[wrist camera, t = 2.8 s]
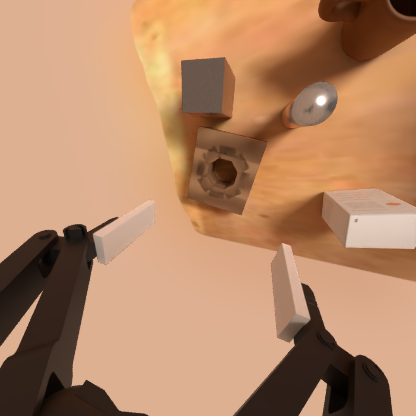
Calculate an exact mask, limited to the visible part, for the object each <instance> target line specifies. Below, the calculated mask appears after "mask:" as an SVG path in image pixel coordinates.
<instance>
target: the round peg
mask: <svg viewBox="0 0 416 416" xmlns="http://www.w3.org/2000/svg"><path fill="white" fill-rule="evenodd" d="M336 104H337V92H336V89H335V88H334V87H333V86H332V85H331V84H330V83H327V82H316V83H313V84H311V85H309V86H307V87H306V88H305V89H303V90H302V91H301V92H300V93H299V94H298V96H297V97H296V98H295V99H294V100H293V101H292V102H291V103H290V104H289V105H288V106H287V107H286V108H285V109H284V111H283V114H282V121H283V124H284V125H285V126H286V127H288V128H298V127H305V126H313V125H317V124H319V123H321V122H323V121H325V120H326V119H327V118H328V117H329V116H330V115H331V114H332V112H333V111H334V109H335V107H336Z"/></svg>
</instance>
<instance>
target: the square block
mask: <svg viewBox="0 0 416 416" xmlns="http://www.w3.org/2000/svg"><path fill="white" fill-rule="evenodd" d="M181 70H182V105H183V113H187V114H191V115H195V116H199V117H221V118H232V111H233V100H234V88H235V76H234V74H233V72H232V70H231V68H230V66H229V64H228V62H227V60H226V58H225V57H223V58H210V59H196V60H183V61H181Z"/></svg>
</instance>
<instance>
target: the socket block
mask: <svg viewBox="0 0 416 416" xmlns="http://www.w3.org/2000/svg"><path fill="white" fill-rule="evenodd" d="M266 145H267V142H266V141H262V140H258V139H254V138H250V137H245V136H241V135H237V134H233V133H229V132H225V131H221V130H217V129H213V128H208V127H198V134H197V140H196V146H195V153H194V159H193V165H192V172H191V178H190V184H189V191H188V197H187V198H190V199H193V200H196V201H199V202H202V203H205V204H208V205H211V206H214V207H217V208H220V209H223V210H226V211H229V212H233V213H236V214H239V215H242V212H243V209H244V207H245V204H246V201H247V198H248V196H249V193H250V190H251V187H252V184H253V182H254V179H255V176H256V173H257V170H258V168H259V165H260V162H261V159H262V156H263V154H264V151H265V148H266ZM218 158H222V159H225V160H229V161H232V163H233V165H234V167H235V168H236V170H237V172H238V173H237V177H236V179H234V180H232V181H231V182H229V183H228V182H225V181H221V180H218V178H217V176H216V175H215V173H214V171H213V170H214V165H215V161H216V160H217V159H218Z"/></svg>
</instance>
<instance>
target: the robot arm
mask: <svg viewBox="0 0 416 416" xmlns="http://www.w3.org/2000/svg"><path fill="white" fill-rule="evenodd" d="M154 223H155V201H152V200H148V201H146V202H145V203H143V204H141V205H140V206H138V207H136V208H135V209H133V210H132V211H130V212H128V213H126V214H125V215H123V216H122V217H120V218H118V217H115V218H112V219H110V220H108V221H106V222H105V223H103V224H101V225H99V226H98V227H96V228H94V229H92V230H91V231H89V232H87V229H86V226H84V225H82V224H75V225H71V226H68V227H66V228H64V230H63V233H64V237H61V236H58V235H57V232H56V231H54V230H44V231H41V232H38V233H36V234H34V235H33V236H32V237H31V238H30V239H28V240H27V241H26V242H25V243H24V244H23V245H21V246H20V247H19V248H18V249H17V250H16V251H14V252H13V253H12V254H11V255H10V256H8V257H7V258H6V259H5V260H4V261H2V262H1V263H0V346H1V345H2V343H3V342H4V341H5V340H6V338H7V337H8V335H9V334H10V333H11V332H12V330H13V329H14V328H15V326H16V325H17V324H18V322H19V321H20V320H21V318H22V317H23V316H24V314H25V313H26V312H27V310H28V309H29V308H30V306H31V305H32V304H33V302H34V301H35V300H36V299H37V297H38V296H39V294H40V293H41V292H42V291H43V292H42V294H41V297H40V299H39V301H38V304H37V306H36V308H35V310H34V313H33V315H32V317H31V319H30V322H29V324H28V326H27V329H26V331H25V333H24V336H23V338H22V340H21V342H20V345H19V347H18V349H17V351H16V353H15V354H14V355H12V356H10V357H8V358H7V359H6V360H5V361H4V362H3V364H2V366H1V368H0V416H148V415H146V414H142V413H132V412H122V411H119V410H118V409H117V407H116V406H115V404H114V403H113V402H112V400H111V399H110V397H109V396H108V395H107V393H106V392H105V390H103V389H101V388H100V387H98V386H96V385H94V384H93V383H91V382H89V381H87V380H86V381H85V382H84V384H83V385H77V386H72V387H71V385H72V377H73V372H72V367H73V366H72V365H73V360H74V355H75V350H76V345H77V340H78V335H79V330H80V325H81V320H82V315H83V310H84V305H85V300H86V295H87V290H88V285H89V281H90V275H91V270H92V265H93V259H94V258H95V257H96V256H97V259H98V262H100V263H102V264H104V265H107V264H108V263H109V262H110V261H111V260H112V259H114V258H115V257H116V256H117V255H118V254H119V253H121V252H122V251H123V250H124V249H125V248H126V247H128V246H129V245H130V244H131V243H132V242H133V241H135V240H136V239H137V238H138V237H139V236H140V235H142V234H143V233H144V232H145V231H146V230H147V229H148V228H150V227H151V226H152V225H153V224H154ZM271 270H272V282H273V294H274V305H275V317H276V329H277V338H279V339H282V340H284V341H286V342H290V341H291V340H292V339H293V338H294V344H295V346H294V347H293V348H292V349H291V350H290V351H289V352H288V354H287V355H286V356H285V357H284V358H283V360H282V361H281V362H280V363H279V364H278V365H277V366H276V367H275V369H274V370H273V371H272V372H271V373H270V374H269V375H268V377H267V378H266V379H265V380H264V381H263V382H262V384H261V385H260V386H259V387H258V388H257V389H256V390H255V391H254V393H253V394H252V395H251V396H250V397H249V398H248V399H247V401H246V402H245V403H244V404H243V405H242V406H241V407H240V408H239V410H238V411H237V412H236V413H235V414H234V415H233V416H298V415H299V414H300V412H301V411H302V409H303V407H304V406H305V404H306V402H307V401H308V399H309V397H310V396H311V394H312V392H313V391H314V389H315V388H316V386H317V384H318V383H319V381H320V379H322V380H323V381H324V382H326V383H327V389H326V396H325V402H324V409H323V415H322V416H393V414H392V405H391V397H390V389H389V383H388V380H387V378H386V376H385V375H384V373H383V372H382V370H381V369H380V368H379V367H378V366H377V365H376V364H375V363H374V362H373V361H372V360H370V359H369V358H367V357H366V356H363V355H357V356H356V357H353V356H352V355H350V354H349V353H348V352H346V351H345V350H344V349H342V348H341V347H339V346H338V345H337V343H336V341H335V339H334V337H333V336H332V335H331V334H330V333H329V332H328V331H327V330H326V329H325V326H324V323H323V320H322V317H321V315H320V311H319V309H318V307H317V302H316V301H315V296H314V293H313V292H312V290H311V289H310V287H309V286H308V285H305V284H302V283H301V282H300V279H299V275H298V271H297V267H296V264H295V260H294V257H293V252H292V249H291V246H290V245H287V244H284V243H282V244H281V246H280V248H279V250H278V252H277V254H276V256H275V258H274V260H273V261H272V263H271ZM43 289H44V290H43Z"/></svg>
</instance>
